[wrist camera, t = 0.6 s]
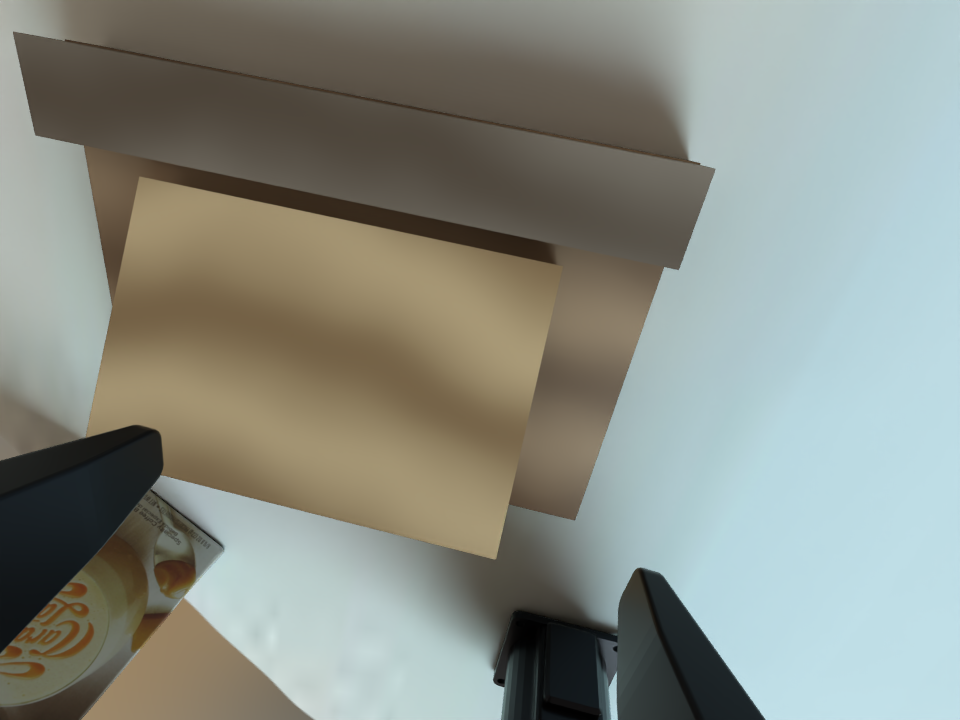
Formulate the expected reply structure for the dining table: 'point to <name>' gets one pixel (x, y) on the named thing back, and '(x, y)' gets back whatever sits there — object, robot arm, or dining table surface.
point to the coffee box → (104, 615)
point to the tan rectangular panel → (326, 362)
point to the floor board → (570, 337)
